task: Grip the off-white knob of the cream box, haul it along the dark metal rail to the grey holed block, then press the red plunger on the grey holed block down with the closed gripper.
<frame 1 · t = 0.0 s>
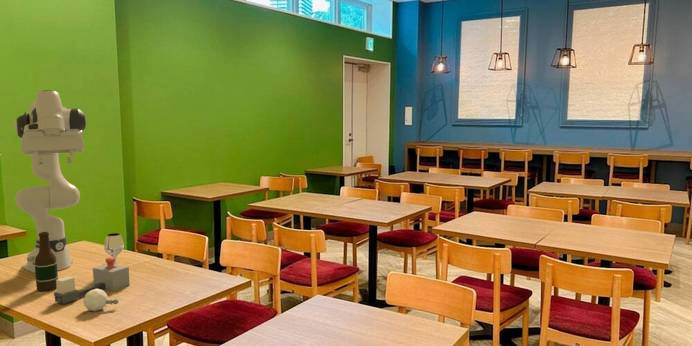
hand: (55, 163, 183), 54 cm above the table, fingers open, 8 cm apart
grey holed block: (111, 285, 211), on the table
beer bottle: (47, 289, 207), on the table
plunger: (110, 268, 211), point 7 cm above the table, slide at 0.0 cm
rail: (82, 296, 200), on the table
wineglass: (115, 273, 228), on the table
perfume bottle: (101, 310, 186), on the table
cream box: (65, 289, 193), point 5 cm above the table, slide at 0.0 cm
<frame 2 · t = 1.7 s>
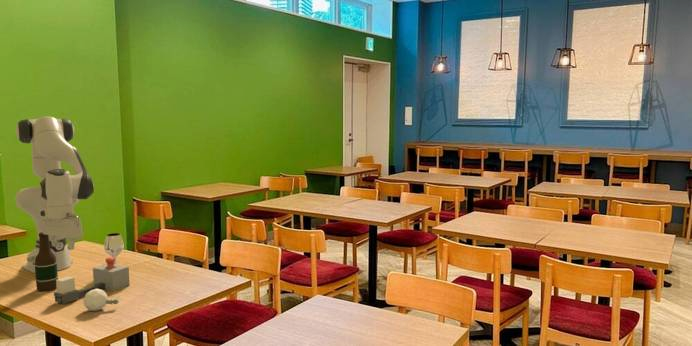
hand: (63, 247, 191), 21 cm above the table, fingers open, 8 cm apart
nothing on the table moved.
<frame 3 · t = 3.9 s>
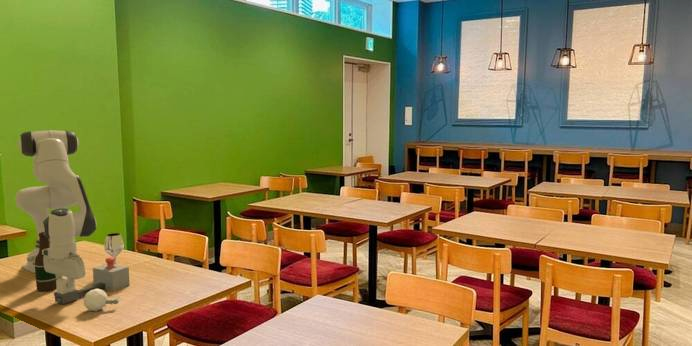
hand: (65, 286, 193), 6 cm above the table, fingers closed on cream box, 4 cm apart
cream box: (65, 289, 193), point 5 cm above the table, slide at 0.0 cm, touching gripper
everything else where it was.
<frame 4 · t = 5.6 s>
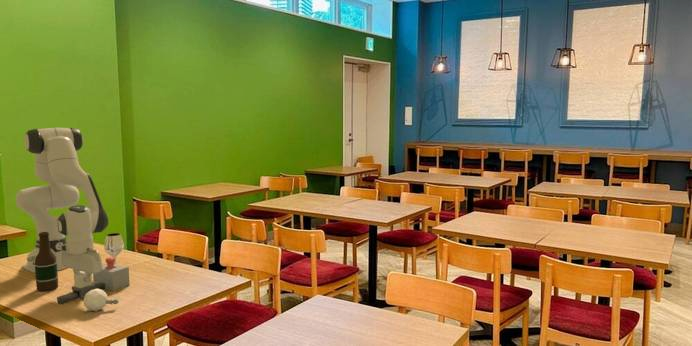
hand: (83, 280, 200), 6 cm above the table, fingers closed on cream box, 4 cm apart
cream box: (83, 283, 200), point 5 cm above the table, slide at 7.3 cm, touching gripper
everything else where it was.
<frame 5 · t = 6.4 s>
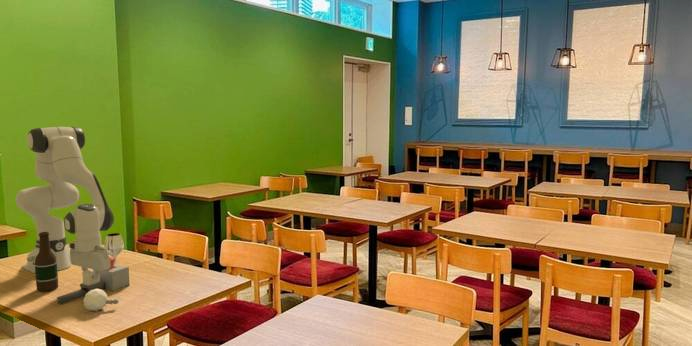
hand: (91, 278, 203), 6 cm above the table, fingers closed on cream box, 3 cm apart
cream box: (91, 281, 203), point 5 cm above the table, slide at 10.9 cm, touching gripper
everything else where it was.
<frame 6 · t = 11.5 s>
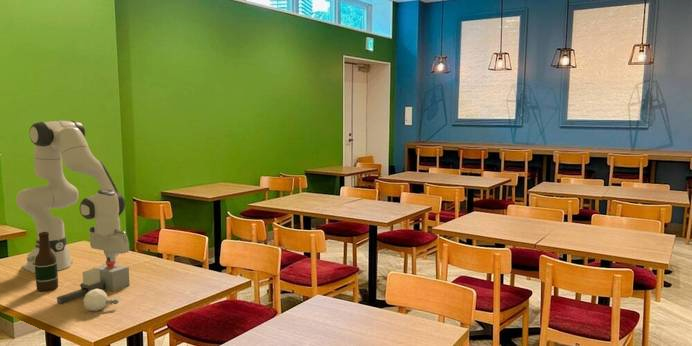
hand: (110, 261, 210), 11 cm above the table, fingers closed, pressing on plunger
plunger: (111, 271, 211), point 6 cm above the table, slide at -1.0 cm, touching gripper
cream box: (91, 281, 203), point 5 cm above the table, slide at 10.9 cm
everything else where it was.
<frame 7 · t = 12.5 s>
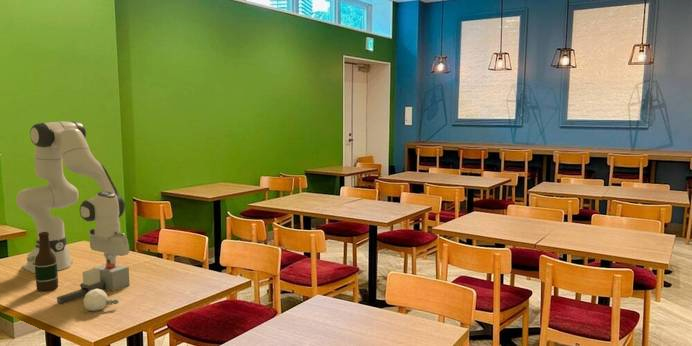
hand: (110, 263, 210), 10 cm above the table, fingers closed
plunger: (111, 273, 211), point 5 cm above the table, slide at -2.0 cm
everything else where it was.
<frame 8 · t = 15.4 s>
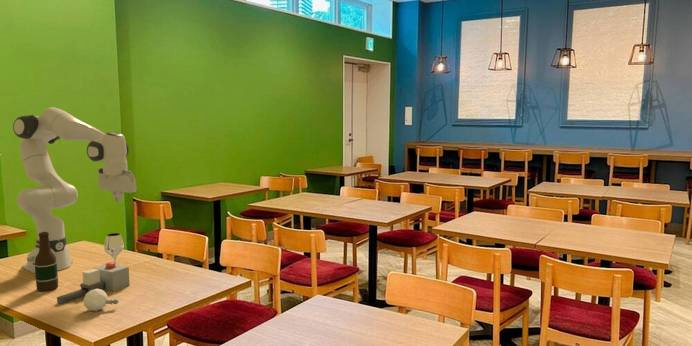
hand: (118, 201, 219), 34 cm above the table, fingers closed
nothing on the table moved.
at the end: cream box slide at 10.9 cm; plunger slide at -2.0 cm; the gripper is holding nothing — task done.
